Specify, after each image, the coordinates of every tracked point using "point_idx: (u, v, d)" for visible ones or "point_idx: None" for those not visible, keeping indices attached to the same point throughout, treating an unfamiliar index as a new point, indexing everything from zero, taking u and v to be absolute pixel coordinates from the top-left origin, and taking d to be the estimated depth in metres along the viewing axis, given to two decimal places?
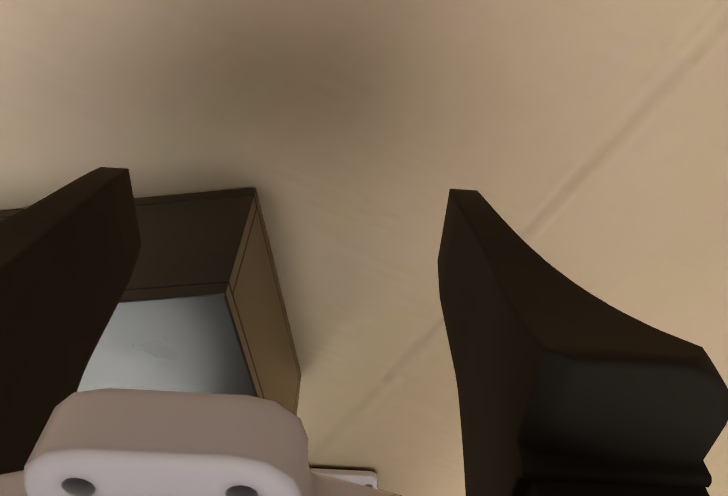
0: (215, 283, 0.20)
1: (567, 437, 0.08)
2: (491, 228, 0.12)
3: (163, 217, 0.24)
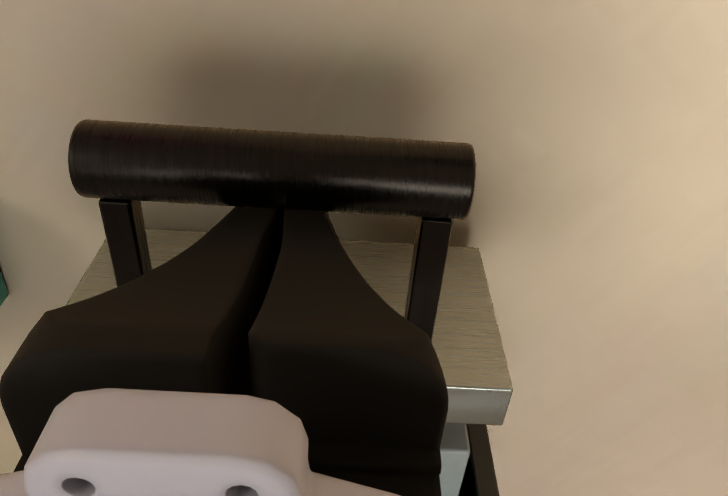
0: None
1: None
2: (304, 217, 0.12)
3: None
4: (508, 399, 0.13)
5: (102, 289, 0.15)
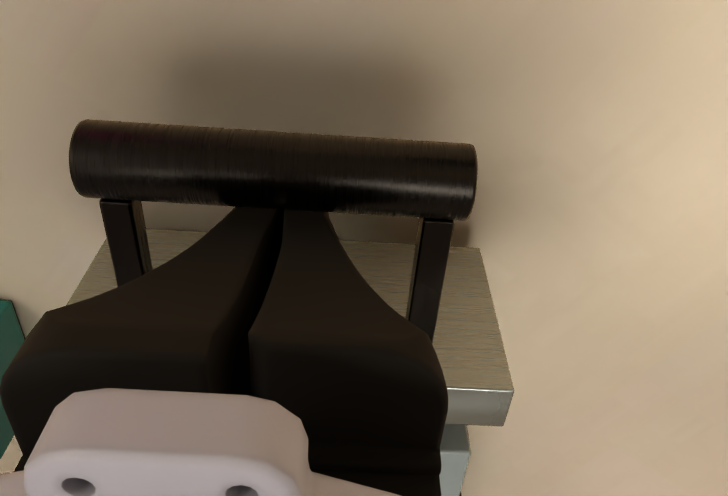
0: None
1: None
2: (304, 217, 0.12)
3: None
4: (509, 400, 0.13)
5: (102, 289, 0.15)
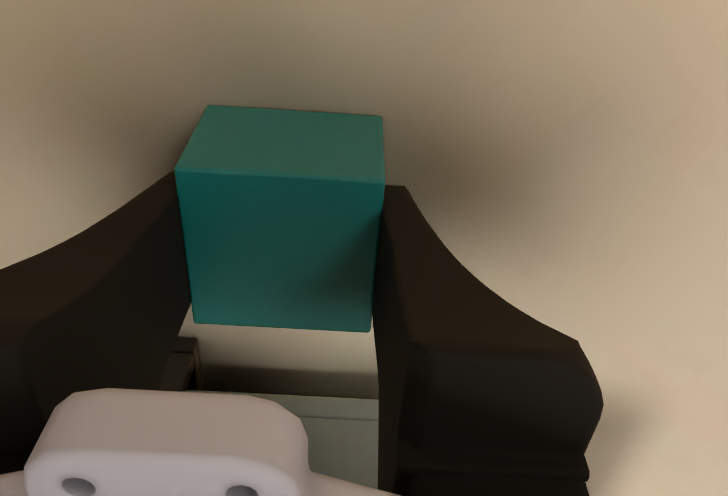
0: None
1: (442, 431, 0.08)
2: (406, 223, 0.12)
3: None
4: None
5: None
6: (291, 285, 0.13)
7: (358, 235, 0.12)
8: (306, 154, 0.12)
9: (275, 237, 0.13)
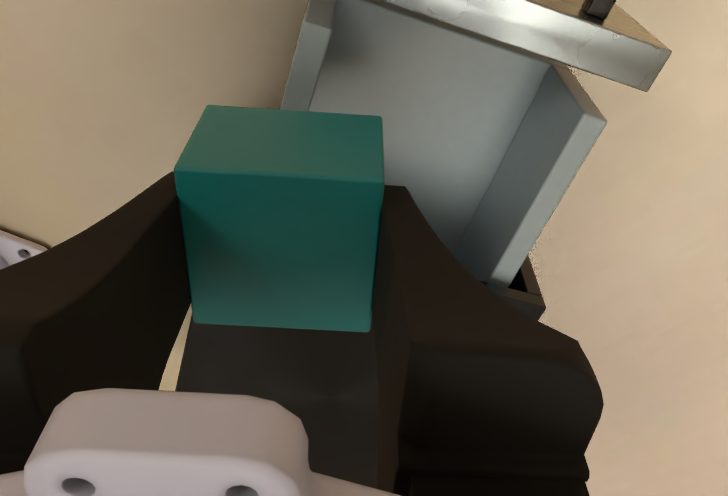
0: None
1: (442, 431, 0.08)
2: (406, 223, 0.12)
3: None
4: (664, 62, 0.17)
5: None
6: (291, 285, 0.13)
7: (358, 235, 0.12)
8: (305, 154, 0.12)
9: (274, 237, 0.13)
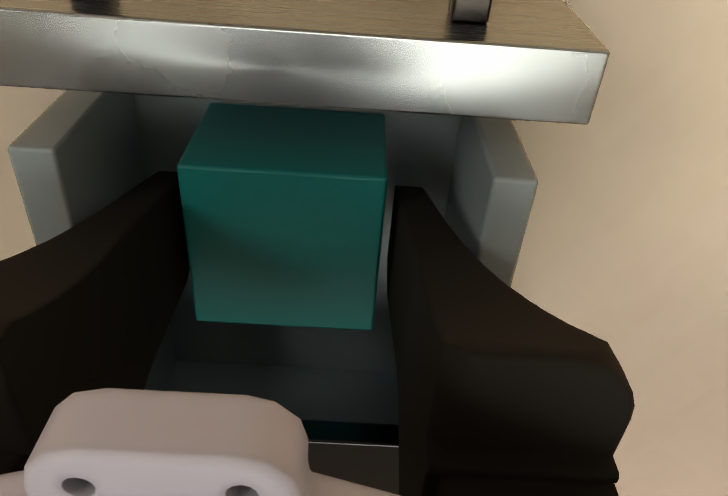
0: None
1: (472, 432, 0.08)
2: (427, 224, 0.12)
3: None
4: (601, 72, 0.09)
5: None
6: (294, 283, 0.13)
7: (361, 232, 0.12)
8: (308, 152, 0.12)
9: (277, 235, 0.13)
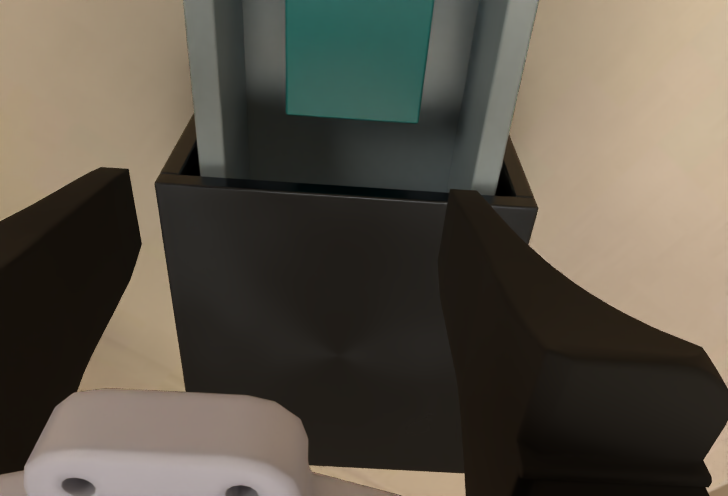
0: None
1: (567, 437, 0.08)
2: (491, 228, 0.12)
3: None
4: None
5: None
6: (362, 79, 0.18)
7: (414, 33, 0.17)
8: None
9: (353, 35, 0.17)
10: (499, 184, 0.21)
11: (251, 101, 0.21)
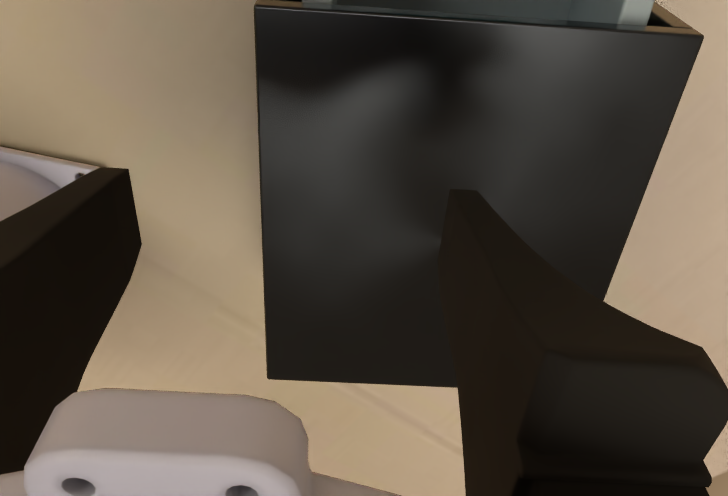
0: None
1: (567, 437, 0.08)
2: (491, 228, 0.12)
3: None
4: None
5: None
6: None
7: None
8: None
9: None
10: None
11: None
